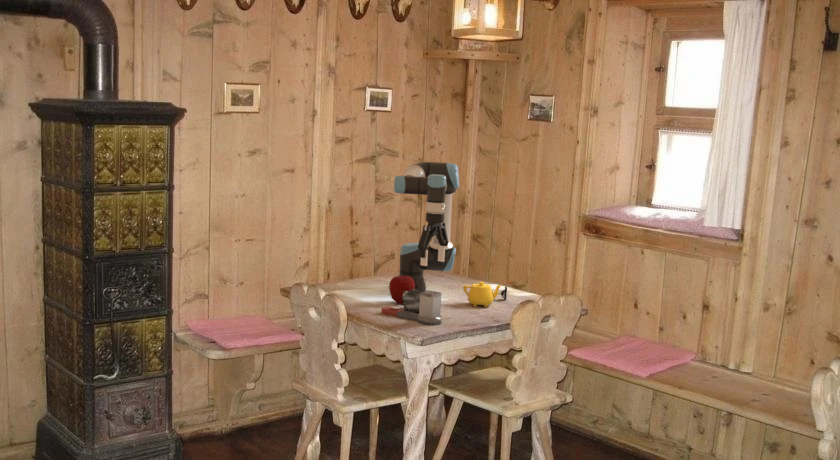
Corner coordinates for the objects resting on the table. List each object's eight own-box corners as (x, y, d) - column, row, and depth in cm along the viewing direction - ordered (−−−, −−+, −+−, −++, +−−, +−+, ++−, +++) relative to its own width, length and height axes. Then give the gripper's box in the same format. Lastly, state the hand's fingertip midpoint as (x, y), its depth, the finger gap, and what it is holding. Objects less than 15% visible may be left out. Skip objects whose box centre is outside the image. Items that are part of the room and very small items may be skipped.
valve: (480, 299, 400) (505, 301, 398) (481, 286, 399) (506, 288, 397) (481, 296, 406) (506, 298, 405) (482, 283, 405) (507, 285, 404)
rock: (405, 306, 378) (403, 286, 375) (430, 304, 377) (427, 284, 374) (403, 320, 365) (400, 299, 361) (428, 319, 364) (426, 297, 361)
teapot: (500, 303, 393) (502, 281, 392) (501, 309, 382) (503, 285, 381) (462, 301, 394) (463, 278, 392) (462, 306, 383) (463, 283, 381)
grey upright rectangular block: (419, 316, 350) (420, 292, 349) (427, 313, 356) (428, 290, 354) (432, 318, 347) (433, 295, 346) (440, 316, 352) (441, 292, 351)
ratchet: (377, 314, 360) (378, 296, 358) (390, 310, 368) (391, 292, 367) (433, 326, 345) (434, 307, 344) (445, 322, 353) (446, 303, 352)
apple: (402, 299, 392) (403, 270, 390) (419, 303, 384) (421, 275, 382) (382, 302, 384) (384, 273, 382) (400, 307, 376) (402, 277, 374)
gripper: (426, 215, 334) (424, 268, 337) (458, 211, 355) (455, 260, 358) (410, 213, 338) (408, 266, 341) (443, 209, 359) (440, 258, 362)
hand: (432, 263), depth 349 cm, fingers open, 13 cm apart
